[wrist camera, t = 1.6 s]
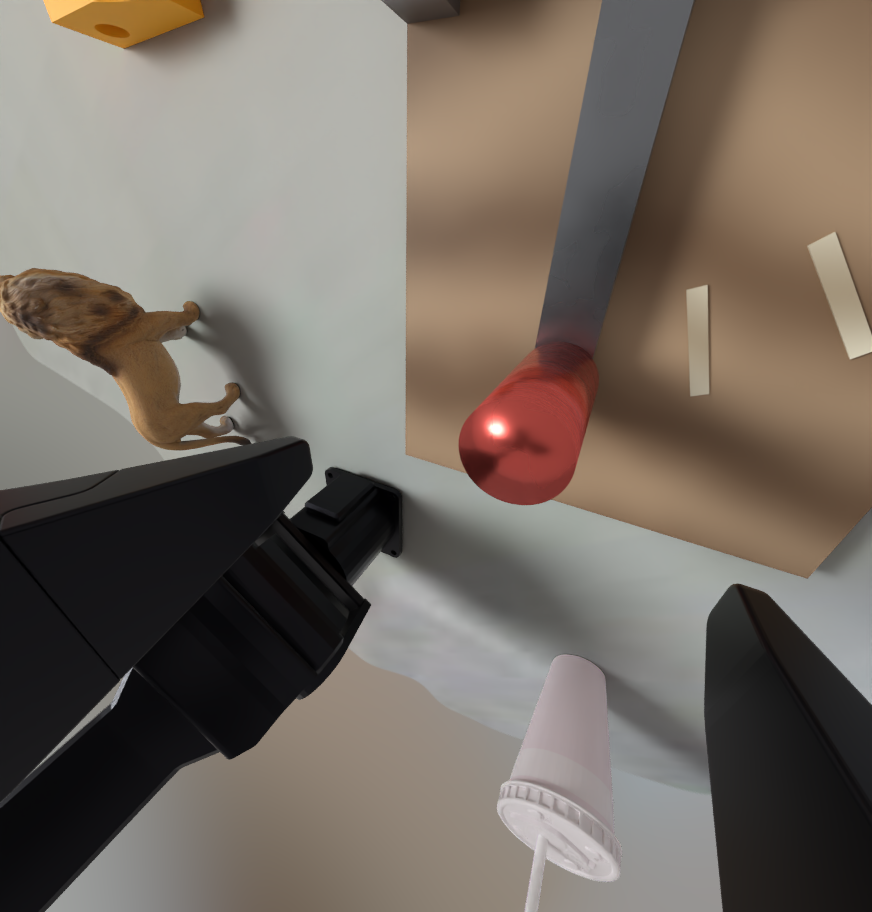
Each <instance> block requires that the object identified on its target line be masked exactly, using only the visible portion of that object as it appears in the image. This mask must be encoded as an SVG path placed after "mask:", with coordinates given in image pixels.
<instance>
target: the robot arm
mask: <svg viewBox="0 0 872 912" xmlns="http://www.w3.org/2000/svg"><path fill="white" fill-rule="evenodd" d="M312 471H313V465H312V459H311V453H310V447H309V444H308V443H307V441H305V440H303V439H300V438H297V437H292V436H291V437H285V438H280V439H275V440H270V441H264V442H259V443H254V444H249V445H244V446H239V447H234V448H228V449H223V450H218V451H213V452H208V453H203V454H197V455H192V456H187V457H182V458H177V459H172V460H166V461H161V462H156V463H151V464H146V465H141V466H136V467H130V468H126V469H122V470H120V471H119V470H115V471H109V472H105V473H99V474H94V475H88V476H83V477H78V478H72V479H67V480H61V481H55V482H49V483H43V484H37V485H31V486H24V487H18V488H11V489H5V490H0V912H45V911H46V910H47V909H48V908H49V907H50V906H51V905H52V904H53V903H54V901H55V900H56V899H57V898H58V897H59V896H60V895H61V894H62V893H63V892H64V891H65V890H66V889H67V888H68V887H69V886H70V885H71V883H72V882H73V881H74V880H75V879H76V878H77V877H78V876H79V875H80V874H81V873H82V872H83V871H84V870H85V869H86V868H87V867H88V865H89V864H90V863H91V862H92V861H93V860H94V859H95V858H96V857H97V856H98V855H99V854H100V853H101V852H102V851H103V850H104V848H105V847H106V846H107V845H108V844H109V843H110V842H111V841H112V840H113V839H114V838H115V837H116V836H117V835H118V834H119V833H120V832H121V830H122V829H123V828H124V827H125V826H126V825H127V824H128V823H129V822H130V821H131V820H132V819H133V818H134V817H135V816H136V815H137V814H138V812H139V811H140V810H141V809H142V808H143V807H144V806H145V805H146V804H147V803H148V802H149V801H150V800H151V799H152V798H153V796H155V794H156V793H157V792H158V791H159V790H160V789H161V788H162V787H163V786H164V785H165V784H166V783H167V782H168V781H169V780H170V779H171V778H172V777H173V776H174V775H175V774H176V773H177V771H178V770H179V769H181V768H183V767H185V766H187V765H189V764H192V763H195V762H197V761H199V760H202V759H204V758H207V757H209V756H211V755H214V754H216V753H219V752H221V753H222V754H223V755H224V756H225V757H226V758H227V759H232V758H235V757H236V756H238V755H240V754H242V753H243V752H245V751H247V750H249V749H251V748H252V747H254V746H255V745H256V744H257V743H258V742H259V741H260V739H261V738H262V737H263V736H264V735H265V733H266V732H267V731H268V730H269V728H270V727H271V726H272V725H273V724H274V722H275V721H276V720H277V718H278V717H279V716H280V715H281V714H282V713H283V711H284V710H285V709H286V708H287V707H288V706H289V705H290V704H291V703H292V702H293V701H294V700H295V699H296V698H297V699H299V700H300V699H303V698H305V697H307V696H308V695H310V694H311V693H312V692H313V691H314V690H316V689H317V688H318V687H319V686H320V685H321V684H322V683H323V682H324V681H325V679H326V678H327V677H328V676H329V675H330V674H331V672H332V671H333V670H334V669H335V668H336V666H337V665H338V663H339V662H340V660H341V659H342V657H343V655H344V654H345V652H346V650H347V648H348V647H349V645H350V643H351V641H352V639H353V637H354V636H355V634H356V632H357V630H358V628H359V626H360V625H361V623H362V621H363V619H364V617H365V615H366V614H367V612H368V610H369V608H370V606H371V604H370V603H369V602H368V601H367V599H364V598H363V597H362V596H361V595H360V594H359V593H358V592H357V591H356V590H355V589H354V588H353V587H352V585H353V584H354V583H355V582H356V581H357V579H358V578H359V577H360V576H361V575H362V573H363V572H364V571H365V570H366V569H367V567H368V566H369V565H370V564H371V562H372V561H373V560H374V559H375V558H376V556H377V555H378V554H379V553H380V552H383V553H386V554H388V555H390V556H393V557H396V558H397V557H399V556H400V554H401V553H402V496H401V493H400V492H399V491H398V490H396V489H393V488H390V487H388V486H385V485H382V484H379V483H376V482H373V481H370V480H368V479H365V478H362V477H359V476H356V475H353V474H351V473H348V472H345V471H342V470H339V469H336V468H333V467H330V468H328V469H327V470H326V471H325V477H326V484H327V486H326V487H325V488H323V489H322V490H321V491H320V492H318V493H317V494H316V495H315V496H313V497H312V498H311V499H310V500H308V501H307V502H306V503H305V507H304V508H303V509H302V510H300V511H299V512H298V513H297V514H295V515H294V516H293V517H292V518H291V519H289V518H288V517H287V516H286V515H285V514H284V513H285V512H284V511H283V510H284V509H285V508H286V506H287V505H288V504H289V503H290V501H291V500H292V499H293V498H294V497H295V495H296V494H297V493H298V492H299V490H300V489H301V488H302V487H303V485H304V484H305V483H306V482H307V480H308V479H309V478H310V476H311V474H312ZM394 496H395V497H394ZM122 677H124V678H123V680H122V682H121V684H120V687H119V689H118V691H117V693H116V695H115V697H114V699H113V701H112V702H111V703H110V704H109V705H108V706H107V707H106V708H104V709H103V710H102V711H101V712H100V713H99V714H97V715H96V716H95V717H94V718H93V719H92V720H91V721H89V722H88V723H87V724H86V725H85V726H84V727H83V728H82V729H80V730H79V731H78V732H77V733H76V734H75V735H74V736H72V737H71V738H70V739H69V740H68V741H67V742H66V743H65V744H63V745H62V746H61V747H60V748H59V749H58V750H56V751H55V752H54V753H53V754H52V755H51V756H50V757H48V758H47V759H46V760H45V761H44V762H43V763H42V764H41V765H39V764H40V763H41V762H42V760H43V759H44V758H46V756H47V755H48V754H49V753H50V752H51V751H52V750H53V749H54V748H55V747H56V746H57V745H58V744H59V743H60V742H61V741H62V740H63V739H64V738H65V737H66V736H67V735H68V734H69V733H70V732H71V731H72V730H73V729H74V728H75V727H76V726H77V725H78V724H79V722H80V721H81V720H82V719H83V718H84V717H85V716H86V715H87V714H88V713H89V712H90V711H91V710H92V709H93V708H94V707H95V706H96V705H97V704H98V703H99V702H100V701H101V700H102V699H103V698H104V697H105V696H106V695H107V694H108V692H109V691H111V689H112V688H113V687H114V686H115V685H116V684H117V683H118V682H119V681H120V679H121V678H122ZM704 717H705V732H706V742H707V753H708V763H709V773H710V784H711V794H712V804H713V815H714V825H715V836H716V846H717V856H718V866H719V877H720V887H721V897H722V908H723V912H872V705H871V704H870V703H869V702H868V700H867V699H866V698H865V697H864V696H863V695H862V694H861V693H860V692H859V691H858V690H857V689H856V688H855V687H854V686H853V684H852V683H851V682H850V681H849V680H848V679H847V678H846V677H845V676H844V675H843V674H842V673H841V672H840V671H839V670H838V669H837V667H836V666H835V665H834V664H833V663H832V662H831V661H830V660H829V659H828V658H827V657H826V656H825V655H824V654H823V653H822V651H821V650H820V649H819V648H818V647H817V646H816V645H815V644H814V643H813V642H812V641H811V640H810V639H809V638H808V637H807V635H806V634H805V633H804V632H803V631H802V630H801V629H800V628H799V627H798V626H797V625H796V624H795V623H794V622H793V621H792V619H791V618H790V617H789V616H788V615H787V614H786V613H785V612H784V611H783V610H782V609H781V608H780V607H779V606H778V605H777V603H776V602H775V601H774V600H773V599H772V598H771V597H770V596H769V595H768V594H766V593H765V592H762V591H760V590H757V589H754V588H751V587H748V586H745V585H742V584H733V585H731V586H730V587H729V588H728V589H727V591H726V592H725V593H724V595H723V596H722V597H721V599H720V600H719V601H718V603H717V604H716V605H715V607H714V608H713V609H712V611H711V612H710V614H709V617H708V620H707V629H706V661H705V694H704ZM38 765H39V766H38ZM37 766H38V767H37ZM36 767H37V768H36ZM35 768H36V769H35ZM34 769H35V770H34ZM33 770H34V771H33ZM32 771H33V772H32Z"/></svg>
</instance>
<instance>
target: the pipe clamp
mask: <svg viewBox="0 0 872 912" xmlns="http://www.w3.org/2000/svg"><path fill="white" fill-rule="evenodd" d="M43 1H44V3H45V6H46V9H47V11H48V14H49V16H50V19H51V22H52V23H55V24H57V25H60V26H63V27H66V28H68V29H71V30H74V31H77V32H80V33H82V34H85V35H88V36H91V37H93V38H96V39H99V40H102V41H104V42H107V43H110V44H113V45H115V46H118V47H121V48H127V47H129V46H132V45H135V44H137V43H140V42H142V41H145V40H147V39H150V38H153V37H155V36H158V35H160V34H163V33H165V32H168V31H171V30H173V29H176V28H178V27H181V26H183V25H186V24H189V23H191V22H194V21H196V20H199V19H201V18H204V14H203V10H202V5H201V1H200V0H43Z"/></svg>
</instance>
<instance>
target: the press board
mask: <svg viewBox="0 0 872 912" xmlns="http://www.w3.org/2000/svg"><path fill="white" fill-rule="evenodd" d="M382 1H383V2H384V3H385V4H386V5H387V6H388V7H389V8H391V9H392V10H393V11H394V12H395V13H396V14H397V15H398V16H399V17H401V18H402V19H403V20H404V21H405V22H406V23H407V240H406V455H409V456H412V457H416V458H419V459H422V460H425V461H428V462H432V463H435V464H438V465H441V466H445V467H448V468H451V469H454V470H458V471H461V472H464V473H467V472H466V471H465V469H464V467H463V464H462V462H461V459H460V455H459V448H458V444H459V435H460V432H461V428H462V426H463V424H464V422H465V421H466V419H467V418H468V417H469V416H470V415H471V414H472V413H473V411H474V410H475V409H476V408H477V407H478V406H479V405H480V404H481V403H482V402H483V401H484V400H485V399H486V398H487V397H488V396H489V395H490V394H491V393H492V392H493V391H494V389H495V388H496V387H497V386H498V385H499V384H500V383H501V382H502V381H503V380H504V379H505V378H506V377H507V376H508V375H509V374H510V373H511V372H512V371H513V370H514V369H515V367H516V366H517V365H518V364H519V363H520V362H521V361H522V360H523V359H524V358H525V357H526V356H527V355H528V354H529V353H530V352H531V351H532V350H534V349H535V344H536V339H537V334H538V329H539V324H540V318H541V313H542V308H543V303H544V298H545V293H546V287H547V282H548V277H549V272H550V267H551V262H552V257H553V251H554V246H555V241H556V236H557V231H558V226H559V220H560V215H561V210H562V205H563V200H564V195H565V189H566V184H567V179H568V174H569V169H570V164H571V159H572V153H573V148H574V143H575V138H576V133H577V128H578V122H579V117H580V112H581V107H582V102H583V97H584V91H585V86H586V81H587V76H588V71H589V66H590V61H591V55H592V50H593V45H594V40H595V35H596V30H597V24H598V19H599V14H600V9H601V4H602V0H382ZM593 360H594V362H595V364H596V367H597V369H598V373H599V386H598V390H597V394H596V398H595V401H594V405H593V408H592V412H591V415H590V419H589V422H588V426H587V429H586V433H585V437H584V440H583V444H582V447H581V451H580V454H579V458H578V461H577V465H576V468H575V472H574V475H573V477H572V480H571V481H570V483H569V484H568V486H567V487H566V488H565V489H564V490H563V491H562V492H561V493H560V494H559V495H557V496H556V497H554V498H553V499H551V500H555V501H558V502H561V503H564V504H568V505H571V506H574V507H577V508H581V509H584V510H587V511H590V512H594V513H597V514H600V515H603V516H606V517H610V518H613V519H616V520H619V521H623V522H626V523H629V524H632V525H636V526H639V527H642V528H645V529H649V530H652V531H655V532H658V533H662V534H665V535H668V536H671V537H674V538H678V539H681V540H684V541H687V542H691V543H694V544H697V545H700V546H704V547H707V548H710V549H713V550H717V551H720V552H723V553H726V554H729V555H733V556H736V557H739V558H742V559H746V560H749V561H752V562H755V563H759V564H762V565H765V566H768V567H772V568H775V569H778V570H781V571H785V572H788V573H791V574H794V575H797V576H801V577H804V578H807V579H808V577H809V576H810V575H811V574H812V573H813V572H814V571H815V570H816V569H817V567H818V566H819V565H820V564H821V563H822V562H823V561H824V560H825V559H826V557H827V556H828V555H829V554H830V553H831V552H832V551H833V550H834V549H835V547H836V546H837V545H838V544H839V543H840V542H841V541H842V540H843V539H844V537H845V536H846V535H847V534H848V533H849V532H850V531H851V530H852V529H853V527H854V526H855V525H856V524H857V523H858V522H859V521H860V520H861V519H862V517H863V516H864V515H865V514H866V513H867V512H868V511H869V510H870V509H871V508H872V0H695V4H694V7H693V11H692V14H691V18H690V21H689V25H688V28H687V32H686V35H685V39H684V42H683V46H682V49H681V53H680V56H679V60H678V63H677V67H676V70H675V74H674V77H673V81H672V84H671V88H670V91H669V95H668V98H667V102H666V106H665V109H664V113H663V116H662V120H661V123H660V127H659V130H658V134H657V137H656V141H655V144H654V148H653V151H652V155H651V158H650V162H649V165H648V169H647V172H646V176H645V179H644V183H643V186H642V190H641V193H640V197H639V200H638V204H637V207H636V211H635V214H634V218H633V221H632V225H631V228H630V232H629V235H628V239H627V243H626V246H625V250H624V253H623V257H622V260H621V264H620V267H619V271H618V274H617V278H616V281H615V285H614V288H613V292H612V295H611V299H610V302H609V306H608V309H607V313H606V316H605V320H604V323H603V327H602V330H601V334H600V337H599V341H598V344H597V348H596V351H595V355H594V358H593Z"/></svg>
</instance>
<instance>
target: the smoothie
mask: <svg viewBox="0 0 872 912" xmlns="http://www.w3.org/2000/svg"><path fill="white" fill-rule="evenodd" d="M497 811H498V814H499V816H500V818H501V820H502V821H503V822H504V824H505V825H506V826H507V828H508V829H509V830H510V831H511V832H512V833H513V834H514V835H515V836H516V837H517V838H518V839H519V840H521V841H522V842H523V843H524V844H526V845H527V846H528V847H529V848H531V849H532V850H534V851H535V854H534V859H533V865H532V871H531V877H530V882H529V888H528V894H527V900H526V905H525V911H524V912H537V911H538V905H539V898H540V892H541V885H542V878H543V872H544V866H545V859H547V860H549V861H551V862H553V863H554V864H556V865H558V866H560V867H562V868H563V869H566V870H568V871H570V872H572V873H574V874H577V875H579V876H582V877H585V878H588V879H591V880H595V881H600V882H612V881H615V880H616V879H618V878H619V876H620V863H621V862H620V861H621V857H622V846H621V845H620V843H619V841H618V839H617V837H616V836H615V832H614V811H613V796H612V778H611V761H610V745H609V728H608V711H607V694H606V679H605V676H604V674H603V672H602V671H601V670H600V669H599V668H598V667H597V666H596V665H595V664H593V663H592V662H590V661H588V660H586V659H584V658H582V657H579V656H575V655H569V654H564V655H559V656H557V657H555V658H554V659H553V661H552V664H551V667H550V669H549V672H548V675H547V678H546V680H545V683H544V686H543V689H542V691H541V694H540V697H539V699H538V702H537V705H536V708H535V710H534V713H533V716H532V719H531V721H530V724H529V727H528V730H527V732H526V735H525V738H524V741H523V743H522V746H521V749H520V752H519V754H518V757H517V759H516V762H515V765H514V768H513V771H512V774H511V777H510V780H509V781H506V782H505V783H503V784H502V785H501V789H500V796H499V800H498V804H497Z"/></svg>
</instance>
